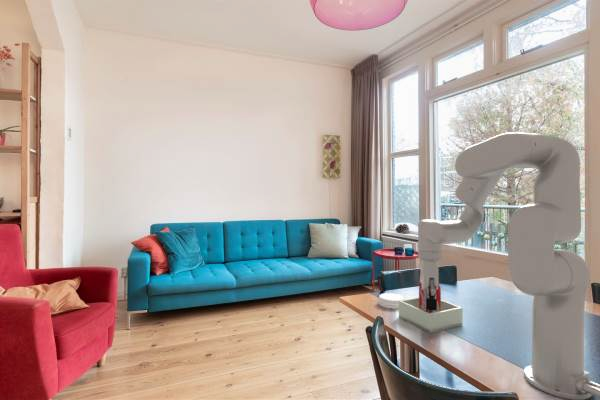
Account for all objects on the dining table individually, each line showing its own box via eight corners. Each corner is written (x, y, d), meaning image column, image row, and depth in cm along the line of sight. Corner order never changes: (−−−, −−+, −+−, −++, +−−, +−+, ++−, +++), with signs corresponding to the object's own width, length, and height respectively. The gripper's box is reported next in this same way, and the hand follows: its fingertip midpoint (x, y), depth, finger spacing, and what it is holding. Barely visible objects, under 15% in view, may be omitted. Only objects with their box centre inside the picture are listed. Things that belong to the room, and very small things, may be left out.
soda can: (443, 319, 109) (442, 284, 108) (420, 318, 110) (420, 283, 110) (438, 311, 116) (438, 278, 115) (417, 310, 117) (417, 277, 117)
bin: (462, 325, 109) (462, 307, 109) (429, 333, 103) (429, 314, 103) (429, 310, 123) (429, 295, 123) (398, 317, 117) (398, 300, 117)
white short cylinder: (409, 307, 127) (409, 298, 127) (387, 310, 124) (387, 301, 124) (395, 299, 136) (395, 291, 136) (374, 302, 133) (374, 294, 133)
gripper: (415, 250, 122) (416, 297, 122) (421, 259, 105) (421, 314, 105) (437, 251, 120) (437, 298, 120) (445, 260, 103) (446, 316, 103)
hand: (429, 305), depth 113 cm, fingers closed on soda can, 7 cm apart
